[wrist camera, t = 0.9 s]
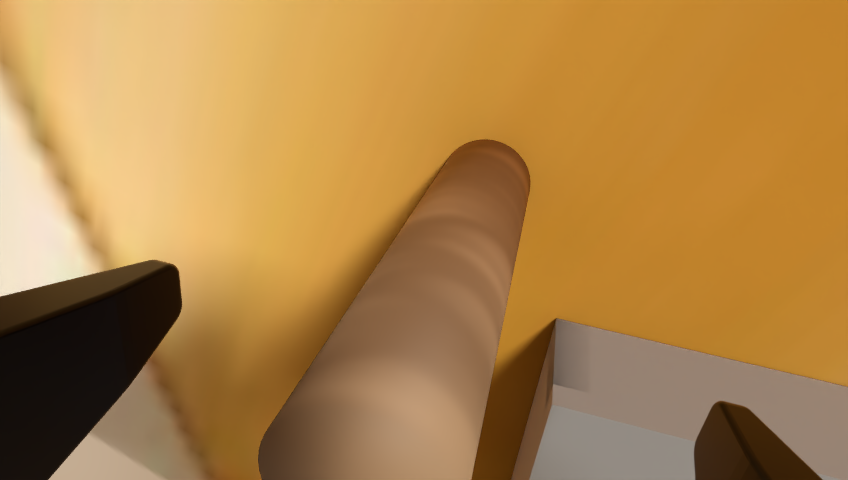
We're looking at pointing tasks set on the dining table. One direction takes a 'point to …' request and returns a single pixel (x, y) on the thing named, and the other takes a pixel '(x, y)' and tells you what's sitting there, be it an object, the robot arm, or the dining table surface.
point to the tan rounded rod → (414, 339)
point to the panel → (662, 409)
